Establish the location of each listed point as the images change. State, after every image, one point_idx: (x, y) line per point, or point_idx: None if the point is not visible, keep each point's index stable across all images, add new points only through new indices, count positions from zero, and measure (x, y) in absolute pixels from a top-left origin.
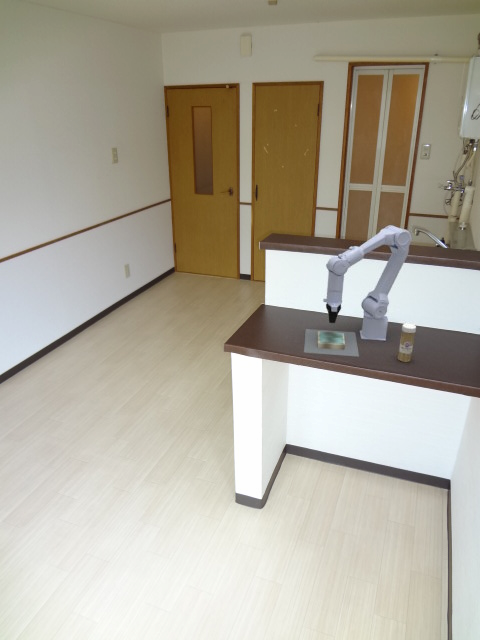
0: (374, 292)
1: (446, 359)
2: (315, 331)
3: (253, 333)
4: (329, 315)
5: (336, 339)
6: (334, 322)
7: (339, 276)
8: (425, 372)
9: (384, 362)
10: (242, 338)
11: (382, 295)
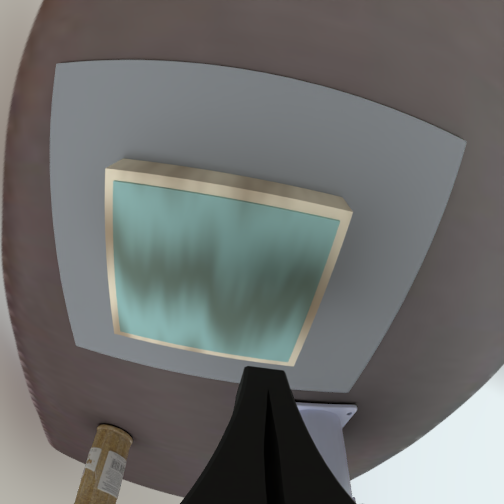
0: None
1: (148, 475)
2: (419, 199)
3: None
4: (216, 448)
5: (179, 312)
6: (235, 402)
7: None
8: (66, 430)
9: (76, 392)
10: None
11: None
